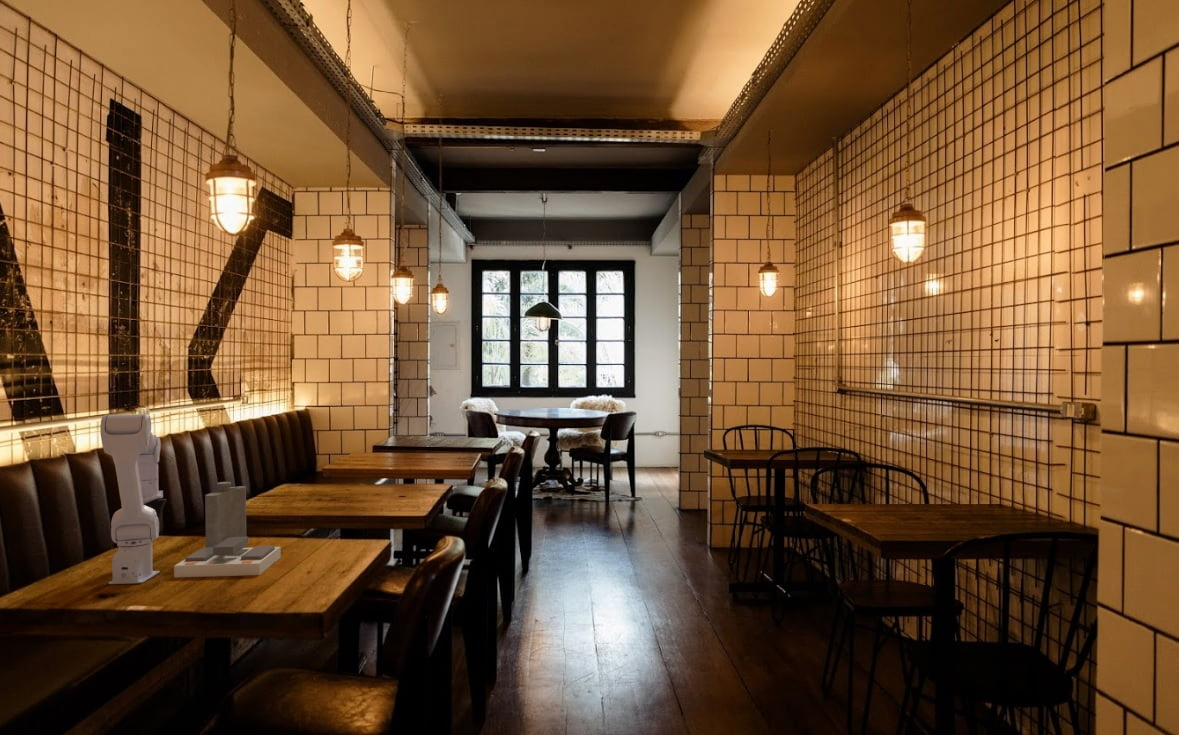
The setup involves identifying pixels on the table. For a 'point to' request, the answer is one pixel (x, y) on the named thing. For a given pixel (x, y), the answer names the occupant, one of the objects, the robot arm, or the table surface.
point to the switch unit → (226, 565)
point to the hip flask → (225, 513)
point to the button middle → (230, 546)
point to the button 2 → (257, 553)
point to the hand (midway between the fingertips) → (146, 529)
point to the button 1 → (201, 555)
